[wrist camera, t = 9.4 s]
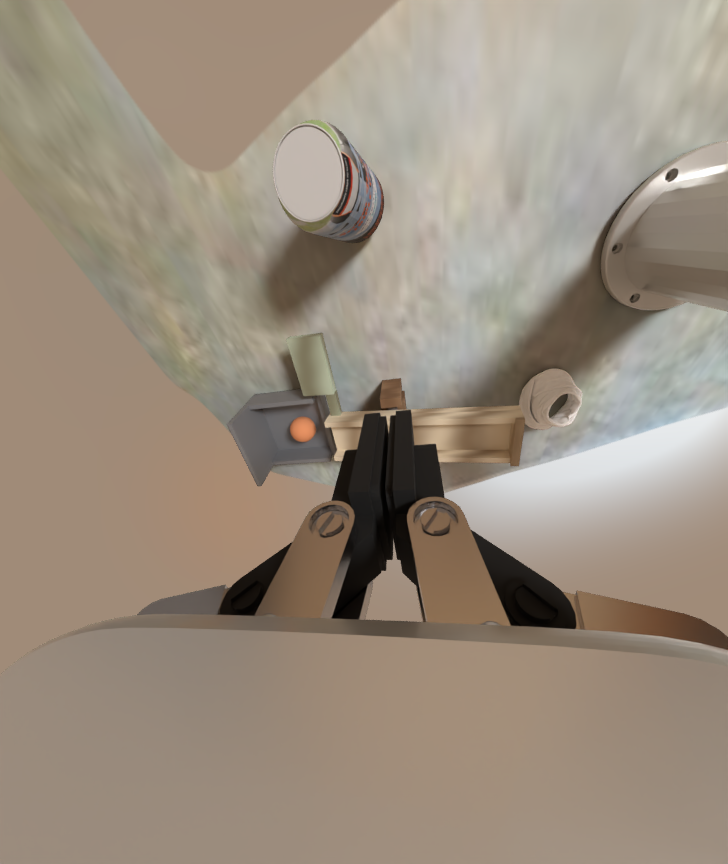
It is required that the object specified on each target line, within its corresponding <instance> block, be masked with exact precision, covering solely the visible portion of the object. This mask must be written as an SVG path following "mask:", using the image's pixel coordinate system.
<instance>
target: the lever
mask: <svg viewBox="0 0 728 864" xmlns="http://www.w3.org/2000/svg"><path fill="white" fill-rule="evenodd" d="M286 341H287V344H288V348H289V351H290V354H291V357H292V361H293V364H294V367H295V370H296V373H297V377H298V380H299V383H300V386H301V389H302V393H303V396H316V395H326V398H327V402H328V406H329V409H330V414H329V416H328V417H327V419H326V421H325V422H324V424H325V428H328V427H331V429H332V433H333V436H334V440H335V444H336V447H337V451H336V453H335V455H334V459H335V461H342V460H343V456H344V453H345V451H346V450H354V449H357V447H358V442H359V438H360V433H361V428H362V424H363V419H364V415H365V414H370V413H380V415H381V416H386V418H387V425H388V431H389V426H390V416H391V415H396V411H402V410H398V409H397V407H392V408H388V410H382V411H355V412H342V410H341V406H340V402H339V398H338V394H337V390H336V387H335V383H334V379H333V375H332V371H331V367H330V363H329V358H328V354H327V350H326V346H325V342H324V338H323V334H322V333H318V334H309V335H301V336H293V337H289V338H287V339H286ZM408 410H411V414H412V424H413V434H414V445H424V444H436V447H437V453H438V460H439V462H469V463H510V465H511V466H519V460H520V453H521V447H522V440H523V433H524V426H525V418H524V415H523V413H522V411H521V408H520V406H519V405H516V406H489V407H462V408H435V409H408Z"/></svg>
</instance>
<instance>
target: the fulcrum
mask: <svg viewBox="0 0 728 864" xmlns="http://www.w3.org/2000/svg"><path fill="white" fill-rule="evenodd" d="M380 404H381V410H388V408H392V407H397V409H398V410H406V401H405V392H404V391H402V385H401V378H400V379H391V380H382V387H381V394H380Z"/></svg>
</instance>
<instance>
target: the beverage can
mask: <svg viewBox="0 0 728 864" xmlns="http://www.w3.org/2000/svg"><path fill="white" fill-rule="evenodd" d="M273 179H274V185H275V189H276V192H277V195H278V197H279V201H280V203H281V205H282V207H283V209H284V211H285V213H286V214H287V216H288V217H289V218H290V219H291V221H292V222H293V223H294V224H295V225H297V226H298V227H299V228H301V229H302V230H304V231H306V232H309V233H312V234H316V235H320V236H324V237H328V238H332V239H336V240H340V241H344V242H348V243H358V242H361V241H364V240H365V239H367V238H368V237H370V236H371V235H372V234H373V233H374V231H375V230H376V229H377V227H378V225H379V223H380V221H381V218H382V214H383V208H384V196H383V191H382V187H381V184H380V182H379V180H378V178H377V177H376V176H375V174H374V173H373V172H372V170H371V169H370V168H369V167H368V165H367V164H366V163H365V161H364V160H363V159H362V158H361V156H360V155H359V154H358V152H357V151H356V150H355V149H354V147H353V146H352V145H351V143H350V142H349V141H348V140H347V138H346V137H345V136H344V134H343V133H342V132H341V131H339V130H338V129H337V128H336V127H335V126H333V125H331V124H329V123H328V122H324V121H321V120H310V121H305V122H303V123H301V124H299V125H297V126H295V127H293V128H291V129H290V130H289V131H288V132H286V134H285V135H284V136H283V137H282V139H281V140H280V142H279V144H278V146H277V149H276V152H275V156H274V161H273Z"/></svg>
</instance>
